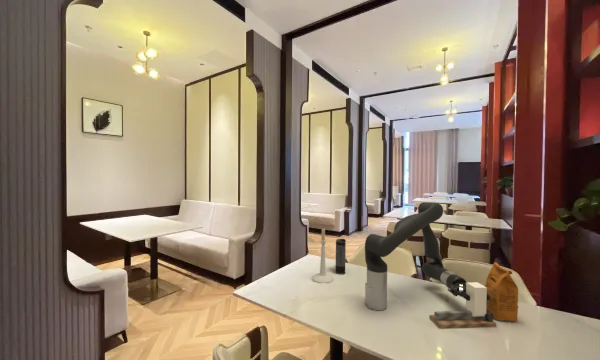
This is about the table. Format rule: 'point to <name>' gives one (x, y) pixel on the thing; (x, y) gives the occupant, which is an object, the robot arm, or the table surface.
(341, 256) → the electronic device
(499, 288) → the coffee package
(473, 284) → the tall cream pillar
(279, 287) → the table surface
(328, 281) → the candlestick
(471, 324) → the rail base
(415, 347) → the table surface
